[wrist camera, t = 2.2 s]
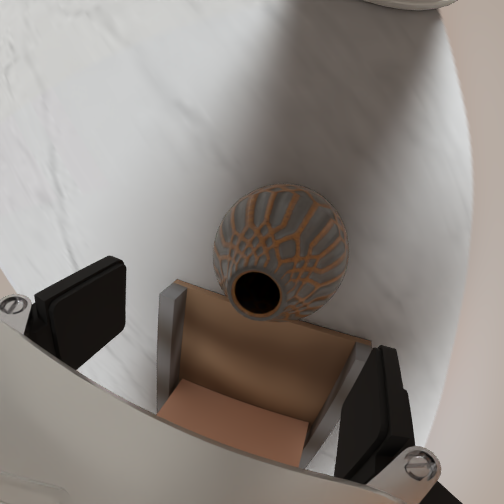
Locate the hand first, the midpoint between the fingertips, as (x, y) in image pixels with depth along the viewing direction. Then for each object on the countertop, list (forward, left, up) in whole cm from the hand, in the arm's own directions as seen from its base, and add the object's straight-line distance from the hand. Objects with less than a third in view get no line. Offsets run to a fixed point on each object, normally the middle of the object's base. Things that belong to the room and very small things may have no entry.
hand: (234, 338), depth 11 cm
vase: (-1, 0, -11) cm, 11 cm away
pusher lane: (+15, 0, -11) cm, 18 cm away
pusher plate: (+15, 0, -11) cm, 18 cm away
